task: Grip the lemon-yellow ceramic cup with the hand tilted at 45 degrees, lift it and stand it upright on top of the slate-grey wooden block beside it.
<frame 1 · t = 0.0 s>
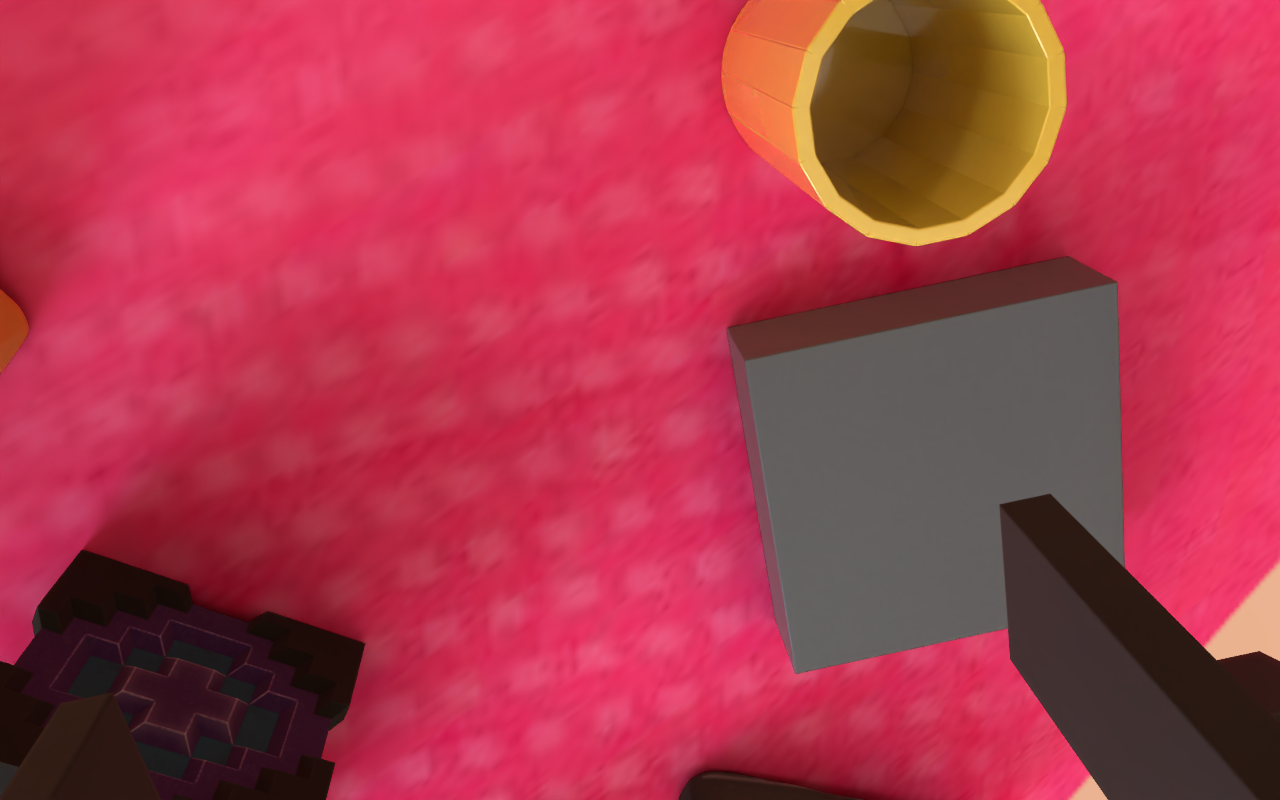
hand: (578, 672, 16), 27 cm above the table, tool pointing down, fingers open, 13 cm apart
yellow cup: (820, 70, 40), on the table
grey block: (914, 448, 46), on the table
energy cube: (185, 706, 48), on the table
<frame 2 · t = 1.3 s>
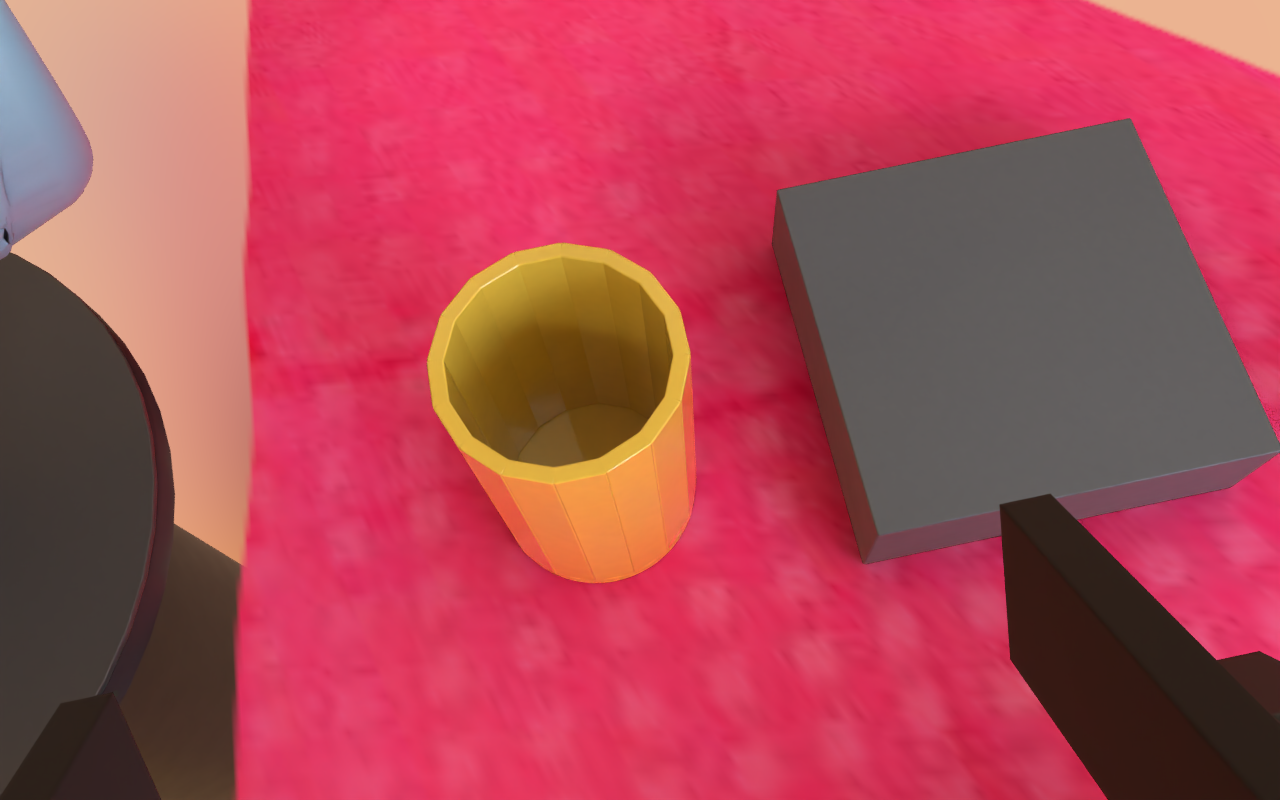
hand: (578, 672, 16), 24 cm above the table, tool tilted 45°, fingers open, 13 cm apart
yellow cup: (598, 488, 42), on the table
grey block: (987, 357, 43), on the table
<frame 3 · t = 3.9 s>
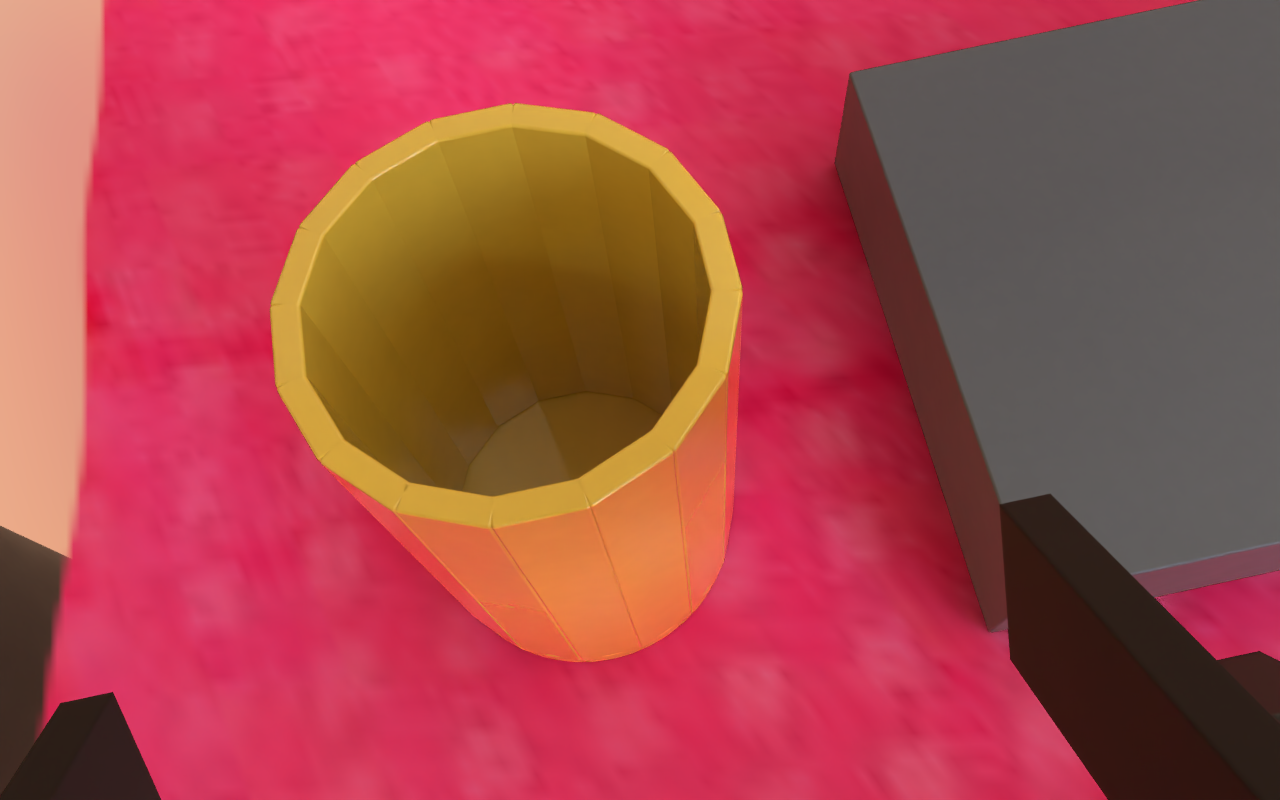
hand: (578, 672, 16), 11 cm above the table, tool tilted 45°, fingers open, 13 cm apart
yellow cup: (586, 517, 28), on the table
grey block: (1158, 321, 29), on the table
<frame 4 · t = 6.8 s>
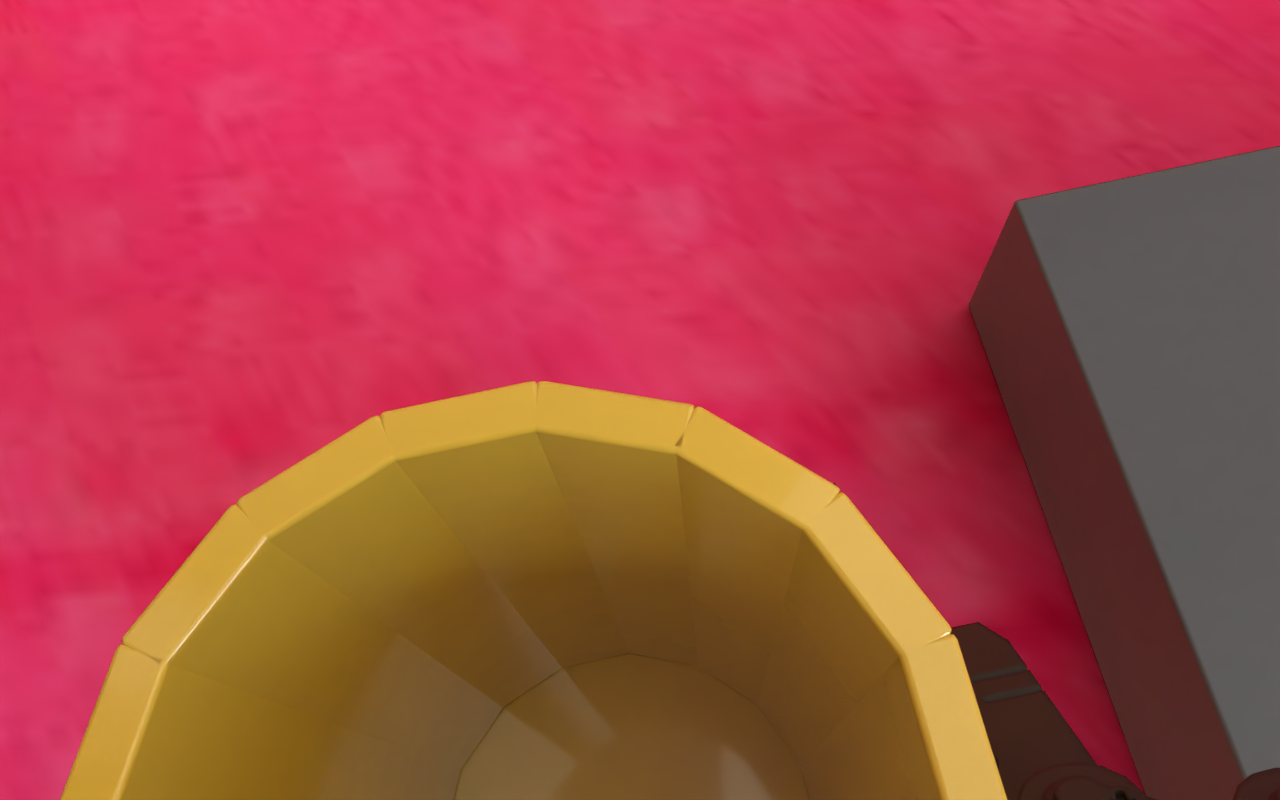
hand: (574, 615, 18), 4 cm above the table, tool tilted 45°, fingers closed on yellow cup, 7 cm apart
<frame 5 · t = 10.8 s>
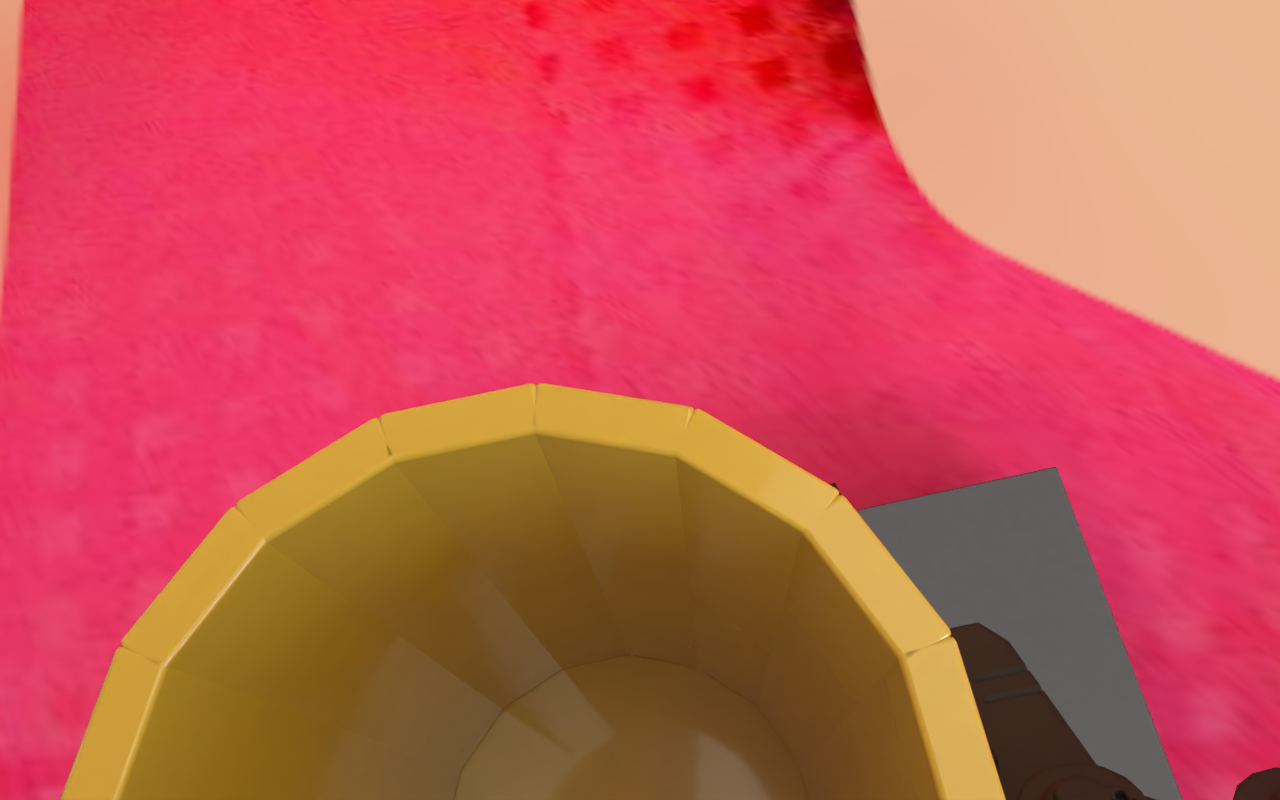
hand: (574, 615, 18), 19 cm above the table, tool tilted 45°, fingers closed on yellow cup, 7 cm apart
grey block: (880, 763, 34), on the table
when the fingers open (7 cm above the table, at t = 15.3 s): yellow cup stays where it is, resting on grey block.
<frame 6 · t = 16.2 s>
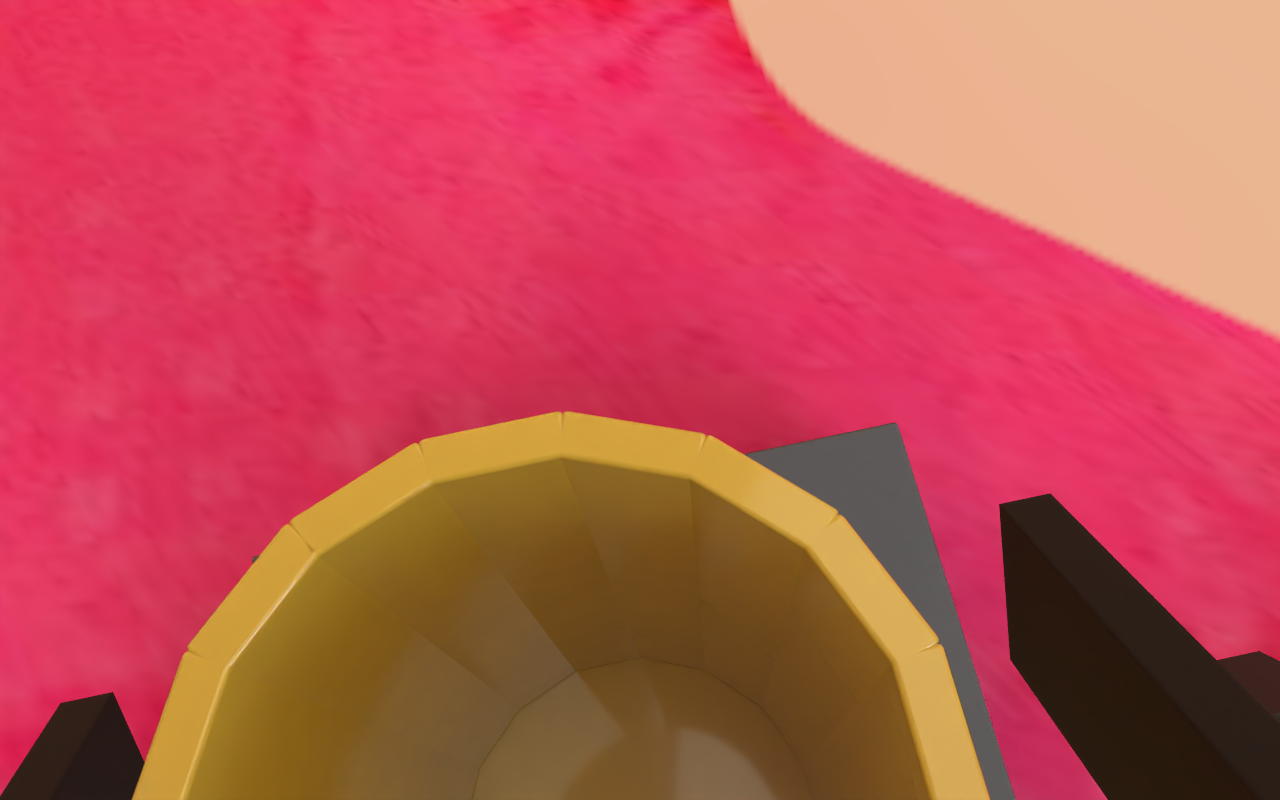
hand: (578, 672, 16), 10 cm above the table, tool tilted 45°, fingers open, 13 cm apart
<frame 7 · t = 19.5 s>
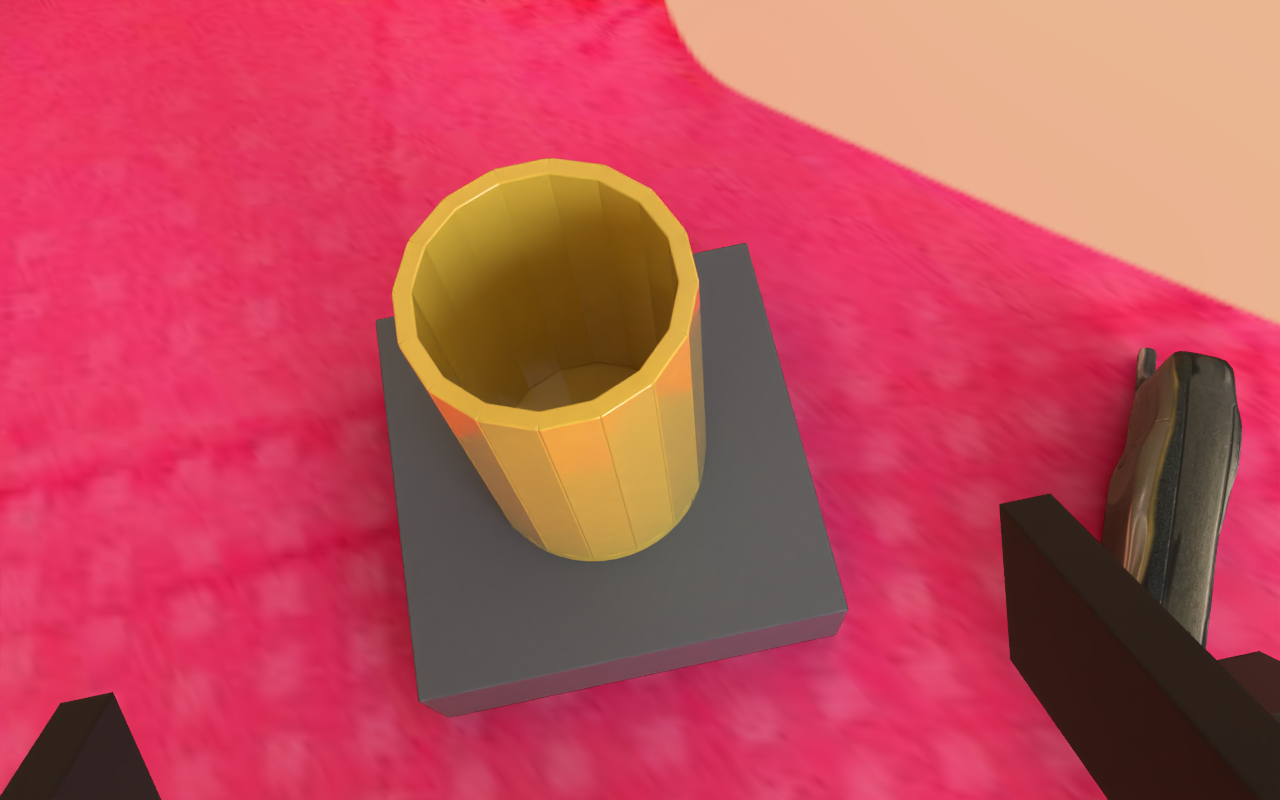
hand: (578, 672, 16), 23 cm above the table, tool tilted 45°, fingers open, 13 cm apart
yellow cup: (596, 456, 38), point 4 cm above the table, touching grey block
dark pencil case: (1134, 547, 39), on the table
grey block: (606, 491, 41), on the table
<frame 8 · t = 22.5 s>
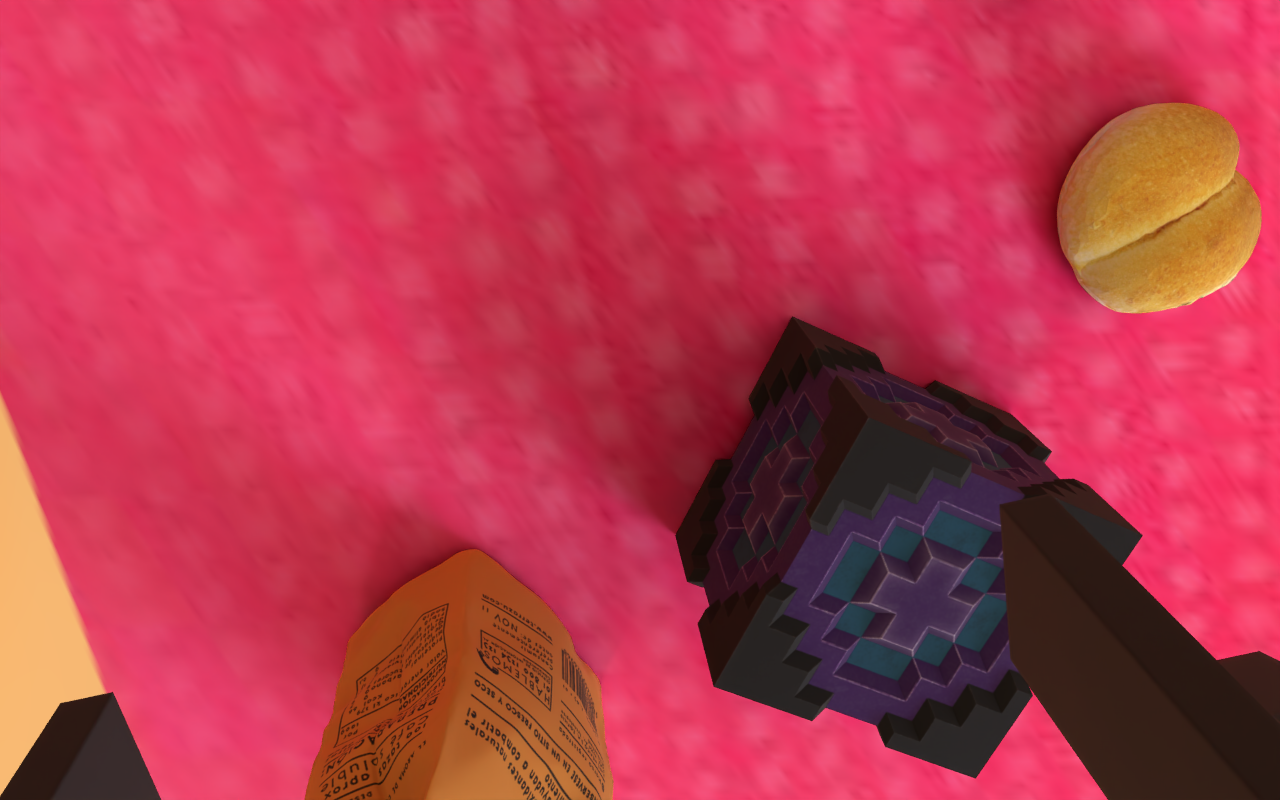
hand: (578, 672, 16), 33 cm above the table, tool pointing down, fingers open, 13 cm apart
bread roll: (1142, 206, 49), on the table
coffee package: (481, 659, 54), on the table
energy cube: (841, 473, 52), on the table
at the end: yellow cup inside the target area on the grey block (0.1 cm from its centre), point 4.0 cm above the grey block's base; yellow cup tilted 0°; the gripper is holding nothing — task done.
